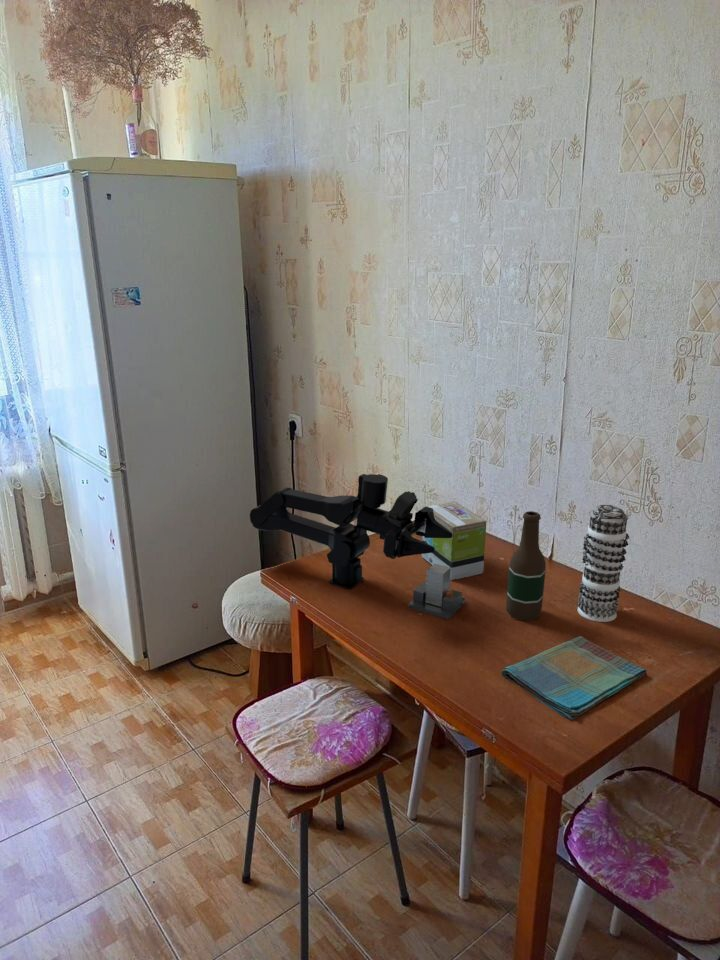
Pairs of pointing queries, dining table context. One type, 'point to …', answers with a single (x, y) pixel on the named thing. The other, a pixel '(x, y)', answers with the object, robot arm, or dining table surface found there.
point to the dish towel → (573, 676)
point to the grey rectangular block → (437, 584)
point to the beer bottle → (526, 573)
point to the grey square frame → (449, 607)
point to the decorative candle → (603, 563)
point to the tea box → (458, 541)
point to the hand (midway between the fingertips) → (443, 542)
